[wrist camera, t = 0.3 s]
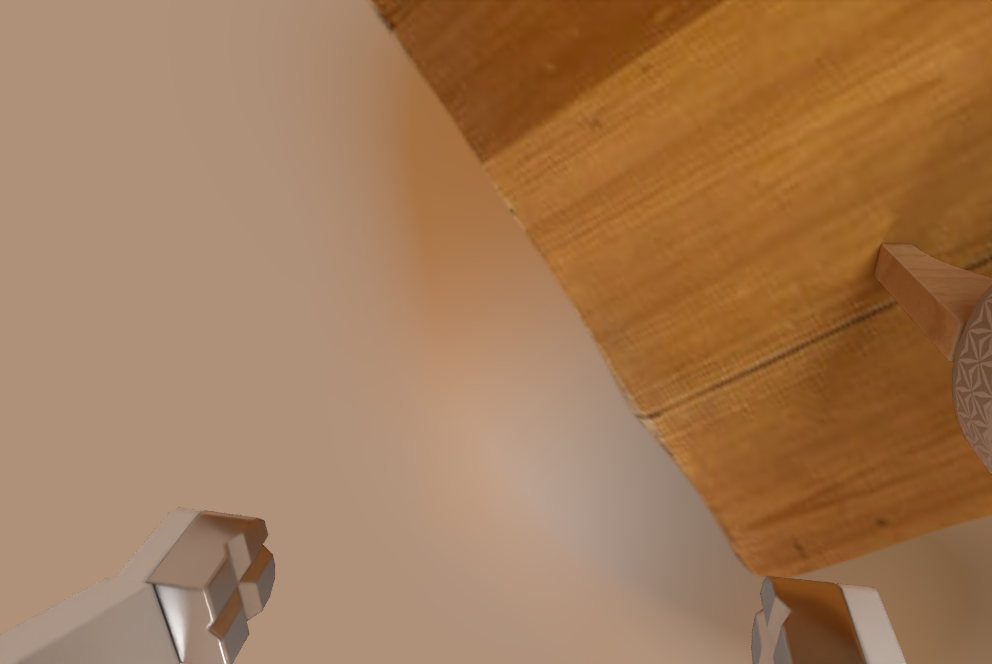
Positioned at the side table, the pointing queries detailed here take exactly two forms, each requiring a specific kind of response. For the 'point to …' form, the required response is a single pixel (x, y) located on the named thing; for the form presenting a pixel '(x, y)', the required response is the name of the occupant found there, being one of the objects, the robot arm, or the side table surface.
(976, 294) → the planter
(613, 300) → the side table surface
